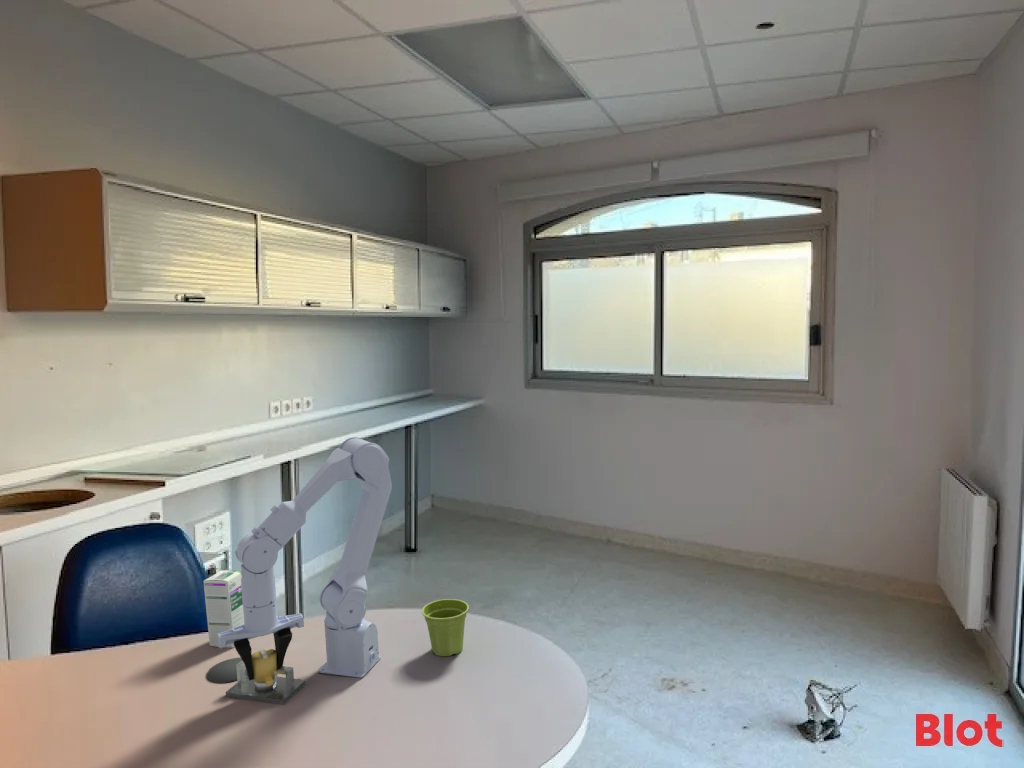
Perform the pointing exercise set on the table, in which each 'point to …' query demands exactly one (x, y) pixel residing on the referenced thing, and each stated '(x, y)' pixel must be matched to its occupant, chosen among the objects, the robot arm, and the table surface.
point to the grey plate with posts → (261, 692)
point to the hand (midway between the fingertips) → (265, 673)
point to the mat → (224, 671)
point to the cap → (264, 666)
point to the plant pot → (446, 625)
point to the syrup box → (223, 603)
